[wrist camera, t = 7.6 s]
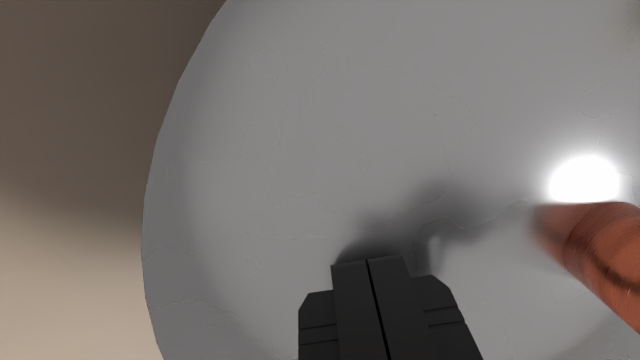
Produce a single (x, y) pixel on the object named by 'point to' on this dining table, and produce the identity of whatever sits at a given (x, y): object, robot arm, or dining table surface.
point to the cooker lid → (402, 171)
